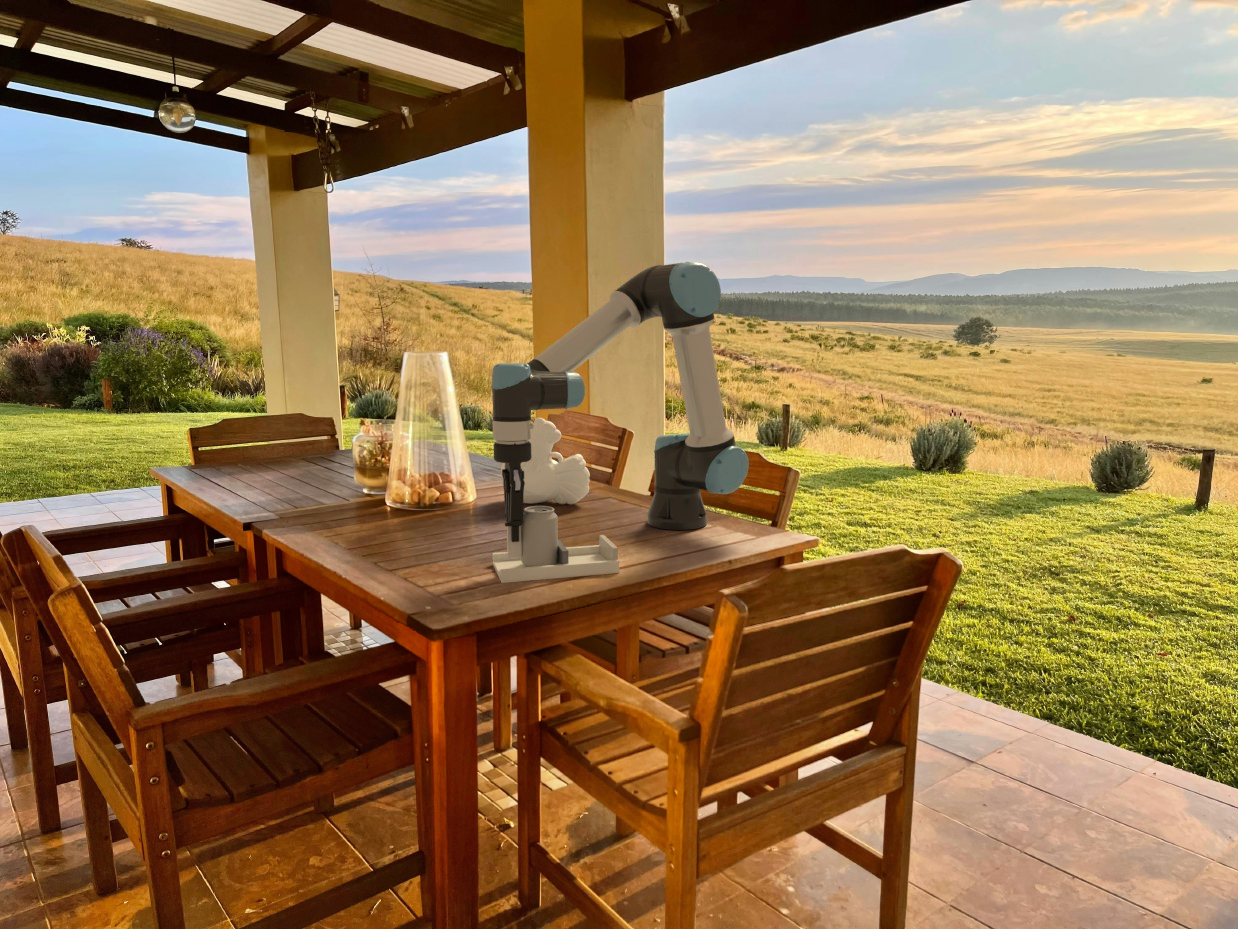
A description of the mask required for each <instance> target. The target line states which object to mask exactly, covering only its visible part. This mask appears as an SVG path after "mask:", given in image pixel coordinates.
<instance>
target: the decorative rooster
mask: <svg viewBox="0 0 1238 929" xmlns="http://www.w3.org/2000/svg"><path fill="white" fill-rule="evenodd" d="M532 424H533V425H534V428H533V429H530V431H531V439H530V440H528V442H530V443H531V454H532V458H531V460H530V461H528V462H522V463H521V469H522V471H524V482H525V485H524V495H523V504H529V505H530V504H532V505H533V504H538V503H545V502H549V501H554V502H555V503H558V504H559V505H565V504H568V505H575V504H576V503H578V502H579V501H581V499H584V498H585V497H586V495H588V493H589V492H590V486H589V484H590V476H591V474H590V471H589V469H588V467H586V466H587V462H586V460H585V459H584V457H583V455H582V454H580V453H577V454H573V455H570V456H568V457H566V458H564V457H563V455H562V454H561V453H560V452H557V451H552V450H553V447H554V445H555V444H556V443H557V442H559V441H561V438H562V433H561V431H560V430H559V429H557V426H556V425H555V423H553V422H552V421H550V420H546V419H544V418H543V417H536V418H535V419H534V421H533V423H532ZM553 457H555V458H557V460H558V461H556V460H554V459H552V458H553ZM502 469H505V463H501V468H500V477H501V480H502V482H503V477H502Z"/></svg>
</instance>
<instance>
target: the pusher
mask: <svg viewBox="0 0 1238 929" xmlns="http://www.w3.org/2000/svg"><path fill="white" fill-rule="evenodd" d="M566 547H567V546H565V545H564V544H563V543H562V541H561V540H560V539H559V538H558V561H557V563H558V564H569V560H568V550H567V548H566Z"/></svg>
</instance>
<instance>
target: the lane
mask: <svg viewBox="0 0 1238 929" xmlns="http://www.w3.org/2000/svg"><path fill="white" fill-rule="evenodd" d="M598 536H599V539H598V540H599V541H598V543H599V544H596V545H595V544H594V545H582V546H580V545H579V546H569V547H567V546H565V547H566V548H567V550H568V560H569V564H558V563H555V564H554V565H546V566H533V567H526V566H525V565H524V564H523V563H522V562H521V556H519V557H508V556H507V551H503V552H492V566H493V568H494V570H495V573H496V574H497V576H498V578H499V580H500V583H501V584H504V583H516V582H517V583H518V582H528V581H529V582H530V581H539V580H552V579H563V578H574V577H575V578H576V577H585V576H586V577H587V576H598V575H610V574H619V573H620V560H619V548H618V546H617V545H615V543H613V542H612V541H611V539H609V538H608V537H607V536H606V535H605V534H599V535H598Z"/></svg>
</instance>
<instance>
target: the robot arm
mask: <svg viewBox="0 0 1238 929" xmlns="http://www.w3.org/2000/svg"><path fill="white" fill-rule="evenodd" d="M721 296H722V290H721V285H720V281H719V279H718V277H717V275H716V273H715V272H714V271H713V270H712V269H711V268H709V266H707V265H705V263H704V264H703V263H700V262H689V261H685V262H677V263H668V264H657V265H653V266H649V267H648V268H645V269H644V270H642V271H639V273H637V274H636V275H635V276H632V277H631V278H630V279H628V280H627V281H626V282H624V284H622V285H620V286H619V287H618V288H617V289H615V290H614V291H613V292H612V293H611V294H610V296H609V300H608V301H607V302H606V303H605V304H603V305H601V306H600V308H598V309H596V311H594V312H593V313H592V314H590V315H589V316H587V317H586V318H585V319H584V320H582V321H581V322H579V323H578V324H577V325H576V326H575V327H573V328H572V329H571V330H569V331H568V332H567V333H566V334H564V335H563V336H561V337H560V338H559V339H558V340H556V341H554V342H553V343H552V344H551V345H550V346H548V347H547V348H546V349H544V350H543V351H542V352H541V353H539V354H538V355H537V356H536V357H534V358H533V359H532V360H530V361H528V362H527V363H524V362H519V363H517V362H512V363H511V362H503V363H502V362H501V363H497V364H495V365H493V367H492V372H491V373H492V374H491V394H492V395H491V396H492V398H491V399H492V440H493V441H495V442H494V443H493V447H492V448H493V460H494V461H495V462H497V463H501V464H502V463H505V469H502V477H503V481H502V486H503V499H504V500H503V501H504V518H505V521H506V522H504V527H506V547H507V548H506V549H507V551H506V552H507V556H508V557H519V556H522V547H521V525H522V524H523V513H524V502H523V495H524V485H525V482H524V471H522V469H521V463H522V462H528V461H530V460H531V458H532V454H531V443H530V442H528V440H530V439H531V431H530V429H533V428H534V425H533V423H531V421H532V411H539V410H540V411H541V410H563V409H565V410H568V409H572V408H578V407H579V406H581V405H582V403H583V402H584V399H585V396H586V385H585V382H584V379H583V377H582V375H581V374H579V373H578V372H575V371H576V369H578V368H579V367H581V365H583V364H584V363H585V362H587V361H588V360H589V359H590V358H592V357H593V356H594V355H596V353H598V352H599V351H601V350H602V349H603V348H605V347H606V346H607V345H608V344H610V343H611V342H612V341H613V340H615V339H616V338H617V337H619V336H620V335H621V334H622V333H624V332H626V330H627V329H629V328H636V327H638V326H639V325H641V324H642V323H643V322H645V321H648V320H650V319H651V320H652V319H655V318H658V317H661V319H662V321H661V322H662V326H663V330H665V331H666V332H667V333H669V334H670V335H671V338H672V341H673V342H672V343H673V347H674V348H673V349H674V354H675V358H676V363H677V369H678V375H679V380H680V385H681V393H682V396H683V397H682V398H683V403H684V409H685V414H686V419H687V424H688V429H689V433H688V432H687V433H686V432H685V433H673V434H665V435H664V434H663V435H660V436H659V435H658V437H656V439H655V441H654V442H655V444H654V450H653V453H654V494H653V497H652V500H651V504H650V506H649V508H648V509H649V510H648V512H647V524H648V525H649V526H651V527H652V528H657V529H662V530H672V531H676V530H677V531H686V530H697V529H701V528H703V527H706V525H707V523H708V522H707V521H708V515H707V511H706V508H705V505H704V502H703V498H702V495H701V490H702V491H705V492H709V493H711V494H714V495H715V494H720V495H728V494H732V493H734V492H735V491H737V490H738V489H739V488H740V487H741V486H742V485H743V483H744V480H745V479H746V478H747V475H748V473H749V472H748V471H749V466H750V465H749V464H750V462H749V456H748V454H747V453H746V451H745V450H744V449H742V447H740V446H738V445H737V444H736V440H735V438H736V437H735V434H734V432H733V431H732V430H731V429H729V428H728V427H727V425H726V419H725V418H726V417H725V414H724V408H723V402H722V401H723V400H722V396H721V389H720V384H719V376H718V373H717V372H718V371H717V366H716V360H715V354H714V348H713V343H712V335H711V331H710V327H711V325H712V324H713V322H714V321H715V315H714V314H715V313H714V312H715V311H716V310H717V308H718V307H719V302H720V301H721ZM502 477H501V478H502Z"/></svg>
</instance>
